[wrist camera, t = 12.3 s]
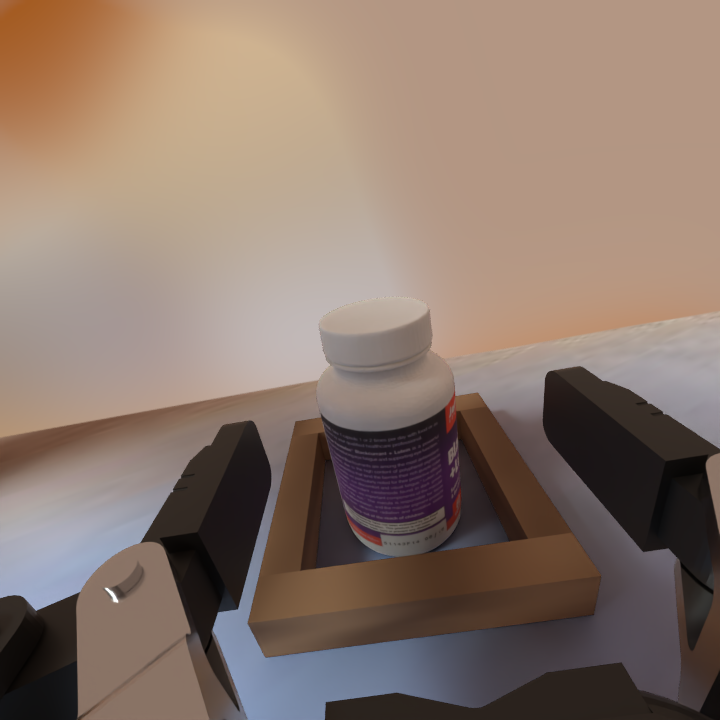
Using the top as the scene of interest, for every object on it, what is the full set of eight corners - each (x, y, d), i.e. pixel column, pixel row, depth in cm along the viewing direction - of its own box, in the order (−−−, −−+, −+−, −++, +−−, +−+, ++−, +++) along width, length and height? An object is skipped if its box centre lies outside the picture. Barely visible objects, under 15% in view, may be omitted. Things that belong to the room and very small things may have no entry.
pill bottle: (485, 540, 14) (480, 317, 10) (358, 578, 14) (300, 358, 10) (435, 456, 19) (418, 282, 15) (340, 481, 19) (296, 308, 15)
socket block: (265, 657, 12) (247, 623, 11) (303, 447, 22) (295, 421, 21) (593, 614, 11) (601, 575, 10) (478, 420, 21) (477, 392, 20)
